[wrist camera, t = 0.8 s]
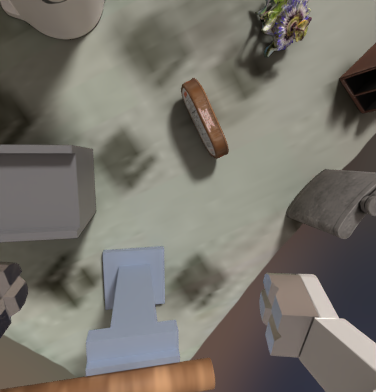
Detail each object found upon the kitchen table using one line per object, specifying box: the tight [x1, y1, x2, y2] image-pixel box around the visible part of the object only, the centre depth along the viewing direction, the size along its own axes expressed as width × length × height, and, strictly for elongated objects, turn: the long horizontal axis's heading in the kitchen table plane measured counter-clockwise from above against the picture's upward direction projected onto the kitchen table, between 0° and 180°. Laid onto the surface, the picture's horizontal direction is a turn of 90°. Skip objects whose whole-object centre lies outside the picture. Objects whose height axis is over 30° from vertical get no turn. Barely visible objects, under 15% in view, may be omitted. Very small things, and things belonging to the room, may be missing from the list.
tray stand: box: [0, 145, 96, 242], centre depth 41 cm, size 16×12×18 cm
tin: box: [181, 78, 229, 159], centre depth 49 cm, size 15×3×8 cm, turn 27°
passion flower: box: [256, 0, 312, 58], centre depth 50 cm, size 11×11×12 cm
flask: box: [286, 169, 376, 239], centre depth 52 cm, size 4×14×18 cm, turn 135°
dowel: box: [0, 358, 215, 392], centre depth 28 cm, size 22×3×3 cm, turn 90°
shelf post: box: [86, 246, 180, 376], centre depth 42 cm, size 12×12×27 cm
